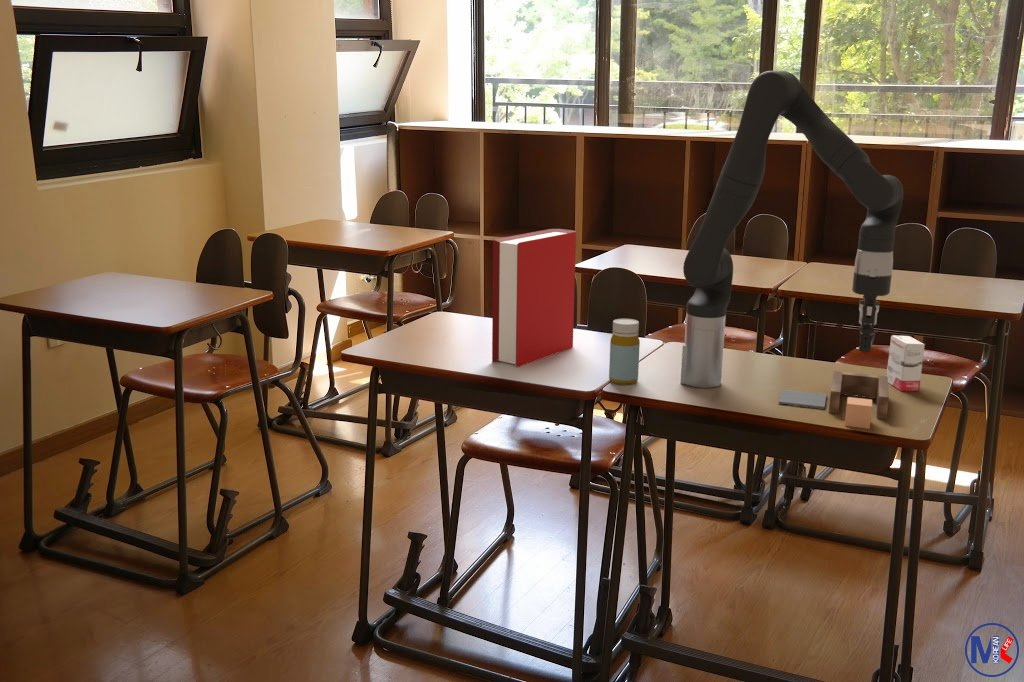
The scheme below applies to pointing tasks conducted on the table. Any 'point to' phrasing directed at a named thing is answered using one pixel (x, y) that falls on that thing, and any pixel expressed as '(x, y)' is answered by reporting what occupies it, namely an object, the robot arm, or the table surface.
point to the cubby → (860, 390)
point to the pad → (803, 399)
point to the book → (533, 295)
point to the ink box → (905, 363)
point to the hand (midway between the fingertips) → (864, 347)
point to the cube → (858, 412)
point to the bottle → (624, 352)
